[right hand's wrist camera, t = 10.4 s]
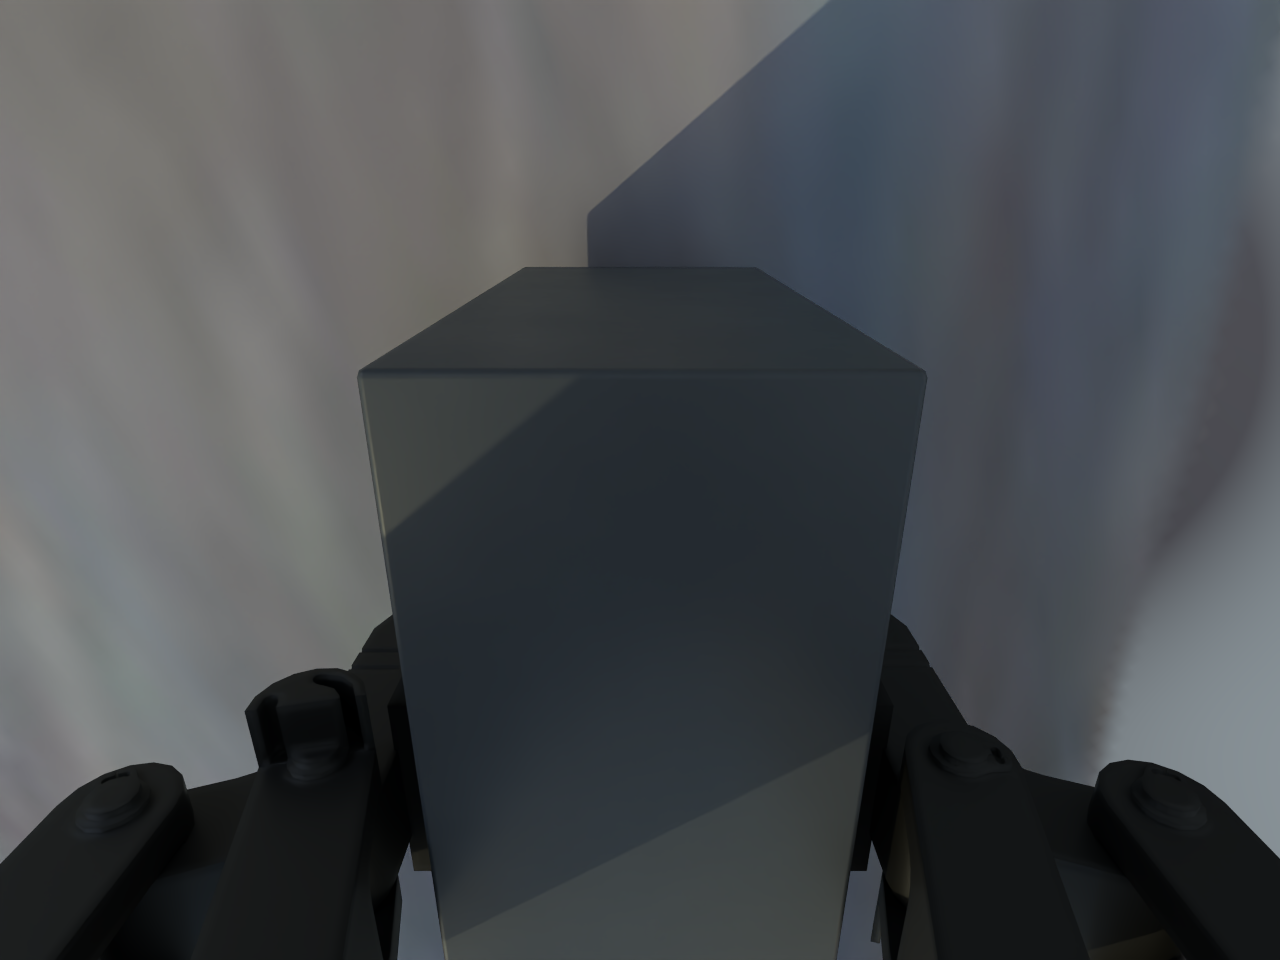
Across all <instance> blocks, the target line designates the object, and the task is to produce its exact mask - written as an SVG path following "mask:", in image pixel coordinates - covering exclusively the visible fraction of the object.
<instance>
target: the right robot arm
mask: <svg viewBox="0 0 1280 960" xmlns="http://www.w3.org/2000/svg"><path fill="white" fill-rule="evenodd" d="M245 715H246V719H247V723H248V727H249V730H250V734H251V738H252V742H253V746H254V750H255V754H256V758H257V762H258V765H259V769H258V771H257V772H255V773H252V774H249V775H246V776H242V777H239V778H236V779H231V780H227V781H223V782H218V783H214V784H210V785H205V786H201V787H197V788H193V789H188V790H187V788H186V785H185V782H184V779H183V775H182V774H181V773H180V772H178V771H177V770H176V769H175V768H174V767H173V766H171V765H165V764H159V763H146V764H138V765H130V766H127V767H124V768H121V769H118V770H115V771H112V772H109V773H106V774H104V775H102V776H100V777H98V778H96V779H94V780H93V781H91V782H89V783H87V784H85V785H83V786H82V787H80V788H78V789H77V790H76V791H74V792H73V793H72V794H71V795H69V796H68V797H67V798H66V799H65V800H63V801H62V802H61V803H60V804H59V805H57V806H56V807H55V808H54V809H53V810H52V811H51V812H50V813H49V814H48V815H47V817H46V818H45V819H44V820H43V821H42V822H41V823H40V824H39V825H38V826H37V827H36V828H35V829H34V830H33V831H32V832H31V833H30V834H29V835H28V836H27V837H26V838H25V839H24V840H23V841H22V842H21V843H20V844H19V845H18V846H17V847H16V848H15V849H14V850H13V852H12V853H11V854H10V855H9V856H8V857H7V858H6V859H5V860H4V861H3V862H2V863H1V864H0V960H397V955H398V944H399V932H400V920H401V908H402V896H401V890H400V883H399V878H398V872H399V870H400V867H401V864H402V861H403V858H404V856H405V853H406V850H407V847H408V844H409V843H410V849H411V855H412V861H413V867H414V871H431V864H430V858H429V851H428V844H427V838H426V831H425V824H424V818H423V811H422V805H421V798H420V791H419V785H418V778H417V771H416V765H415V758H414V751H413V745H412V738H411V732H410V725H409V718H408V712H407V705H406V698H405V692H404V685H403V678H402V672H401V665H400V658H399V652H398V645H397V639H396V632H395V625H394V619H393V615H392V616H390V617H389V618H388V619H386V620H385V621H384V622H382V623H381V624H380V625H378V626H377V627H376V628H374V630H373V632H372V633H371V635H370V637H369V638H368V640H367V641H366V643H365V645H364V646H363V648H362V653H359V654H358V656H357V658H356V659H355V661H354V662H353V664H352V669H351V670H349V671H346V670H342V669H338V668H329V669H314V670H309V671H305V672H301V673H297V674H293V675H291V676H289V677H287V678H284V679H282V680H280V681H278V682H275V683H273V684H272V685H270V686H269V687H268V688H266V689H265V690H264V691H262V692H261V693H260V694H258V695H257V696H256V697H255V698H254V699H253V700H252V702H251V703H250V705H249V706H248V707H247V709H246V710H245ZM871 841H872V842H873V845H874V847H875V850H876V853H877V856H878V859H879V861H880V864H881V867H882V870H883V872H882V878H881V883H880V889H879V895H878V900H877V906H876V912H875V918H874V923H873V929H872V936H871V942H876V943H880V939H881V942H882V954H883V960H1280V858H1279V857H1278V856H1277V855H1276V854H1275V853H1274V852H1273V851H1272V850H1271V849H1270V848H1269V847H1268V846H1267V845H1266V844H1265V843H1264V842H1263V841H1262V840H1261V839H1260V838H1259V837H1258V836H1257V835H1256V834H1255V833H1254V832H1253V831H1252V830H1251V829H1250V828H1249V827H1248V826H1247V825H1246V824H1245V823H1244V822H1243V821H1242V820H1241V819H1240V818H1239V817H1238V816H1237V815H1236V813H1235V812H1234V811H1233V810H1232V809H1231V808H1230V807H1229V806H1228V805H1227V804H1226V803H1225V802H1223V801H1222V800H1221V799H1220V798H1218V797H1217V796H1216V795H1215V794H1214V793H1212V792H1211V791H1210V790H1209V789H1207V788H1206V787H1205V786H1204V785H1202V784H1200V783H1198V782H1196V781H1194V780H1193V779H1191V778H1189V777H1187V776H1185V775H1183V774H1182V773H1180V772H1178V771H1175V770H1172V769H1169V768H1166V767H1163V766H1160V765H1157V764H1154V763H1150V762H1142V761H1134V760H1124V761H1118V762H1113V763H1109V764H1108V765H1107V766H1106V767H1105V768H1104V769H1102V770H1101V771H1100V772H1099V775H1098V778H1097V781H1096V785H1095V787H1092V786H1087V785H1083V784H1079V783H1074V782H1070V781H1066V780H1061V779H1057V778H1053V777H1049V776H1044V775H1041V774H1038V773H1034V772H1031V771H1028V770H1025V769H1023V768H1022V767H1021V765H1020V764H1019V762H1018V761H1017V759H1016V757H1015V756H1014V754H1013V753H1012V751H1011V750H1010V749H1009V748H1007V747H1006V746H1005V745H1004V744H1003V743H1002V742H1000V741H999V740H998V739H997V738H996V737H994V736H992V735H990V734H988V733H986V732H984V731H982V730H980V729H978V728H976V727H974V726H970V725H967V723H966V721H965V720H964V718H963V716H962V715H961V713H960V712H959V710H958V708H957V707H956V705H955V704H954V702H953V700H952V699H951V697H950V695H949V694H948V692H947V691H946V689H945V687H944V686H943V684H942V683H941V681H940V679H939V678H938V676H937V675H936V673H935V671H934V670H933V668H932V667H930V666H929V662H928V660H927V658H926V657H925V655H924V654H923V652H922V650H919V646H918V644H917V642H916V641H915V639H914V637H913V636H912V634H911V633H910V631H909V629H908V628H907V626H906V625H904V624H903V623H902V622H900V621H899V620H898V619H896V618H895V617H894V616H892V615H891V614H890V619H889V626H888V632H887V639H886V645H885V652H884V658H883V664H882V671H881V677H880V684H879V690H878V696H877V703H876V709H875V716H874V722H873V728H872V735H871V741H870V748H869V754H868V761H867V767H866V773H865V780H864V786H863V793H862V799H861V805H860V812H859V818H858V825H857V831H856V837H855V844H854V850H853V857H852V863H851V870H850V871H867V865H868V859H869V853H870V847H871Z"/></svg>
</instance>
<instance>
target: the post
mask: <svg viewBox="0 0 1280 960" xmlns="http://www.w3.org/2000/svg"><path fill="white" fill-rule="evenodd" d="M357 380H358V386H359V393H360V400H361V406H362V413H363V420H364V426H365V433H366V439H367V446H368V453H369V459H370V466H371V473H372V479H373V486H374V493H375V499H376V506H377V512H378V519H379V526H380V532H381V539H382V546H383V552H384V559H385V566H386V572H387V579H388V585H389V592H390V599H391V605H392V612H393V619H394V625H395V632H396V639H397V645H398V652H399V658H400V665H401V672H402V678H403V685H404V692H405V698H406V705H407V712H408V718H409V725H410V732H411V738H412V745H413V751H414V758H415V765H416V771H417V778H418V785H419V791H420V798H421V805H422V811H423V818H424V824H425V831H426V838H427V844H428V851H429V858H430V864H431V871H432V878H433V884H434V891H435V897H436V904H437V911H438V917H439V924H440V931H441V937H442V944H443V951H444V957H445V960H836V959H837V953H838V946H839V940H840V934H841V927H842V921H843V914H844V908H845V902H846V895H847V889H848V882H849V876H850V870H851V863H852V857H853V850H854V844H855V837H856V831H857V825H858V818H859V812H860V805H861V799H862V793H863V786H864V780H865V773H866V767H867V761H868V754H869V748H870V741H871V735H872V728H873V722H874V716H875V709H876V703H877V696H878V690H879V684H880V677H881V671H882V664H883V658H884V652H885V645H886V639H887V632H888V626H889V619H890V613H891V607H892V600H893V594H894V587H895V581H896V575H897V568H898V562H899V555H900V549H901V543H902V536H903V530H904V523H905V517H906V510H907V504H908V498H909V491H910V485H911V478H912V472H913V466H914V459H915V453H916V446H917V440H918V434H919V427H920V421H921V414H922V408H923V401H924V395H925V389H926V382H927V376H926V372H925V371H924V370H923V369H921V368H919V367H918V366H916V365H914V364H913V363H911V362H910V361H908V360H906V359H905V358H903V357H901V356H900V355H898V354H896V353H895V352H893V351H892V350H890V349H888V348H887V347H885V346H883V345H882V344H880V343H879V342H877V341H875V340H874V339H872V338H870V337H869V336H867V335H865V334H864V333H862V332H861V331H859V330H857V329H856V328H854V327H852V326H851V325H849V324H847V323H846V322H844V321H843V320H841V319H839V318H838V317H836V316H834V315H833V314H831V313H830V312H828V311H826V310H825V309H823V308H821V307H820V306H818V305H816V304H815V303H813V302H812V301H810V300H808V299H807V298H805V297H803V296H802V295H800V294H799V293H797V292H795V291H794V290H792V289H790V288H789V287H787V286H785V285H784V284H782V283H781V282H779V281H777V280H776V279H774V278H772V277H771V276H769V275H768V274H766V273H764V272H763V271H761V270H759V269H758V268H749V267H525V268H523V269H521V270H520V271H518V272H516V273H515V274H513V275H511V276H510V277H508V278H507V279H505V280H503V281H502V282H500V283H499V284H497V285H495V286H494V287H492V288H491V289H489V290H487V291H486V292H484V293H483V294H481V295H479V296H478V297H476V298H475V299H473V300H471V301H470V302H468V303H467V304H465V305H463V306H462V307H460V308H459V309H457V310H455V311H454V312H452V313H451V314H449V315H447V316H446V317H444V318H442V319H441V320H439V321H438V322H436V323H434V324H433V325H431V326H430V327H428V328H426V329H425V330H423V331H422V332H420V333H418V334H417V335H415V336H414V337H412V338H410V339H409V340H407V341H406V342H404V343H402V344H401V345H399V346H398V347H396V348H394V349H393V350H391V351H390V352H388V353H386V354H385V355H383V356H381V357H380V358H378V359H377V360H375V361H373V362H372V363H370V364H369V365H367V366H365V367H364V368H362V369H361V370H359V372H358V376H357Z"/></svg>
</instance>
